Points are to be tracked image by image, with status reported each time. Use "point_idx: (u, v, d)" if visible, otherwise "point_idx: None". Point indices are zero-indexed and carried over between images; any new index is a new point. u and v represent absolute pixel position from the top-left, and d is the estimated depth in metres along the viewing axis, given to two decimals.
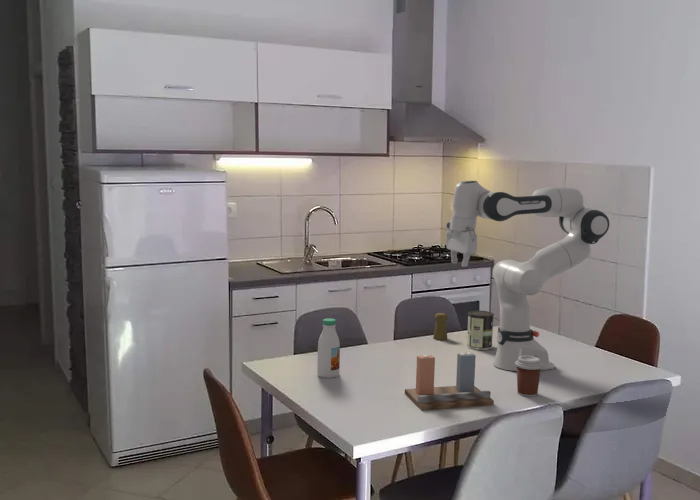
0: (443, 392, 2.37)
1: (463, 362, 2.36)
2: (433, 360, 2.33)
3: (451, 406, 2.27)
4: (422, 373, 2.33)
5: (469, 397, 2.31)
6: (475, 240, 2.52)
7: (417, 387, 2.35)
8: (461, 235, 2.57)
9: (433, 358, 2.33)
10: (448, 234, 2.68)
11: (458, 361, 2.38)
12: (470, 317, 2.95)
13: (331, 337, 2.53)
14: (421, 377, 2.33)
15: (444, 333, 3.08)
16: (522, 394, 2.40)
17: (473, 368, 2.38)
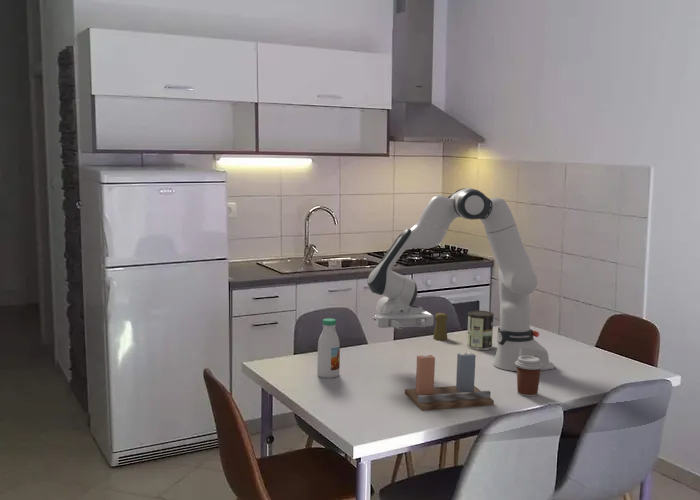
0: (443, 392, 2.37)
1: (463, 362, 2.36)
2: (433, 360, 2.33)
3: (451, 406, 2.27)
4: (422, 373, 2.33)
5: (469, 397, 2.31)
6: (376, 316, 2.53)
7: (417, 387, 2.35)
8: None
9: (433, 358, 2.33)
10: None
11: (458, 361, 2.38)
12: (470, 317, 2.95)
13: (331, 337, 2.53)
14: (421, 377, 2.33)
15: (444, 333, 3.08)
16: (522, 394, 2.40)
17: (473, 368, 2.38)
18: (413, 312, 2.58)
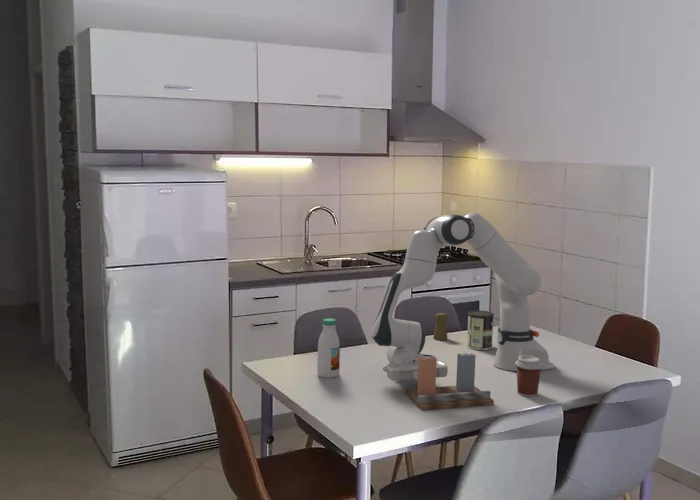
0: (443, 392, 2.37)
1: (463, 362, 2.36)
2: (435, 361, 2.32)
3: (451, 406, 2.27)
4: (424, 375, 2.32)
5: (469, 397, 2.31)
6: (387, 367, 2.42)
7: (418, 388, 2.34)
8: None
9: (435, 359, 2.32)
10: None
11: (458, 361, 2.38)
12: (470, 317, 2.95)
13: (331, 337, 2.53)
14: (422, 379, 2.32)
15: (444, 333, 3.08)
16: (522, 394, 2.40)
17: (473, 368, 2.38)
18: None
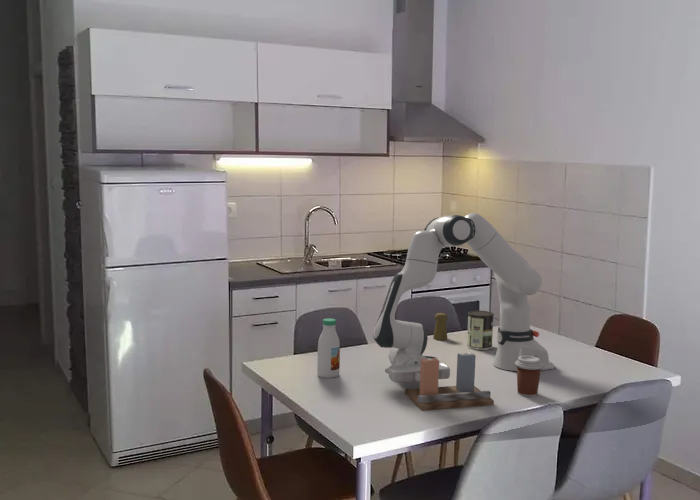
0: (443, 392, 2.37)
1: (463, 362, 2.36)
2: (437, 363, 2.30)
3: (451, 406, 2.27)
4: (426, 377, 2.30)
5: (469, 397, 2.31)
6: (389, 369, 2.40)
7: (421, 391, 2.32)
8: None
9: (437, 361, 2.30)
10: None
11: (458, 361, 2.38)
12: (470, 317, 2.95)
13: (331, 337, 2.53)
14: (424, 381, 2.30)
15: (444, 333, 3.08)
16: (522, 394, 2.40)
17: (473, 368, 2.38)
18: None
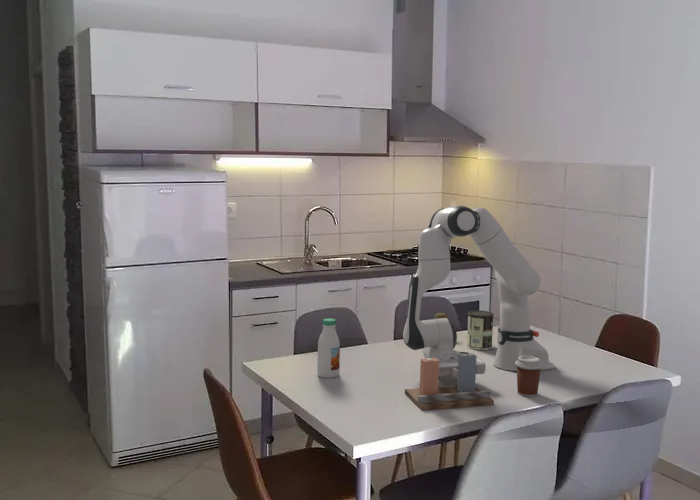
0: (443, 392, 2.37)
1: (464, 363, 2.36)
2: (437, 363, 2.30)
3: (451, 406, 2.27)
4: (426, 377, 2.30)
5: (469, 397, 2.31)
6: None
7: (421, 391, 2.32)
8: None
9: (437, 361, 2.30)
10: None
11: (459, 362, 2.37)
12: (470, 317, 2.95)
13: (331, 337, 2.53)
14: (424, 381, 2.30)
15: None
16: (522, 394, 2.40)
17: (474, 369, 2.37)
18: None
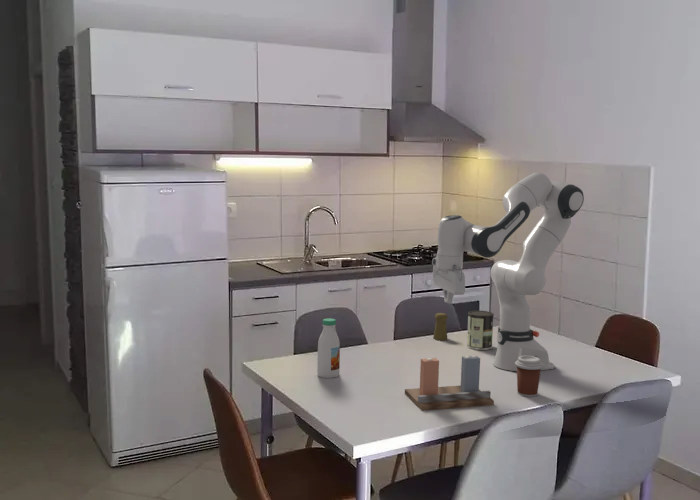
0: (443, 392, 2.37)
1: (467, 365, 2.33)
2: (437, 363, 2.30)
3: (451, 406, 2.27)
4: (426, 377, 2.30)
5: (469, 397, 2.31)
6: (463, 279, 2.42)
7: (421, 391, 2.32)
8: (448, 274, 2.47)
9: (437, 361, 2.30)
10: (435, 270, 2.58)
11: (462, 364, 2.35)
12: (470, 317, 2.95)
13: (331, 337, 2.53)
14: (424, 381, 2.30)
15: (444, 333, 3.08)
16: (522, 394, 2.40)
17: (478, 371, 2.34)
18: None
